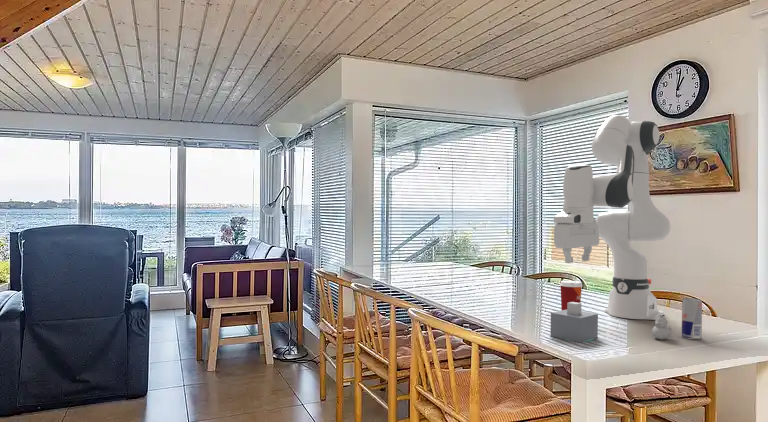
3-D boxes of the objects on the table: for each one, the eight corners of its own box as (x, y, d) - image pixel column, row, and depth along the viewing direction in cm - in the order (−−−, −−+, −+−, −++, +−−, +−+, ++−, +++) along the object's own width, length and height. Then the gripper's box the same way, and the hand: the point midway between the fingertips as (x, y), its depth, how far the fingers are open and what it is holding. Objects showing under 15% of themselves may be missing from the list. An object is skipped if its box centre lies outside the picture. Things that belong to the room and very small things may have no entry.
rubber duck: (646, 338, 164) (647, 312, 164) (661, 336, 167) (662, 310, 167) (662, 342, 159) (662, 315, 159) (677, 340, 162) (677, 314, 162)
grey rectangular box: (568, 331, 171) (568, 299, 171) (597, 337, 163) (598, 303, 163) (550, 336, 165) (550, 302, 165) (580, 342, 157) (580, 307, 157)
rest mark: (570, 332, 170) (570, 331, 170) (599, 338, 163) (599, 337, 163) (552, 336, 164) (552, 336, 164) (582, 343, 156) (582, 342, 156)
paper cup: (583, 324, 182) (584, 283, 182) (560, 323, 184) (561, 282, 184) (580, 319, 190) (580, 280, 190) (557, 318, 191) (558, 279, 191)
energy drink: (680, 335, 168) (681, 297, 168) (699, 336, 166) (700, 298, 166) (683, 338, 163) (683, 300, 163) (703, 340, 161) (703, 301, 161)
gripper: (586, 216, 172) (585, 258, 172) (550, 217, 159) (549, 263, 159) (604, 216, 167) (604, 260, 167) (569, 217, 154) (568, 265, 154)
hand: (577, 261), depth 163 cm, fingers open, 8 cm apart
